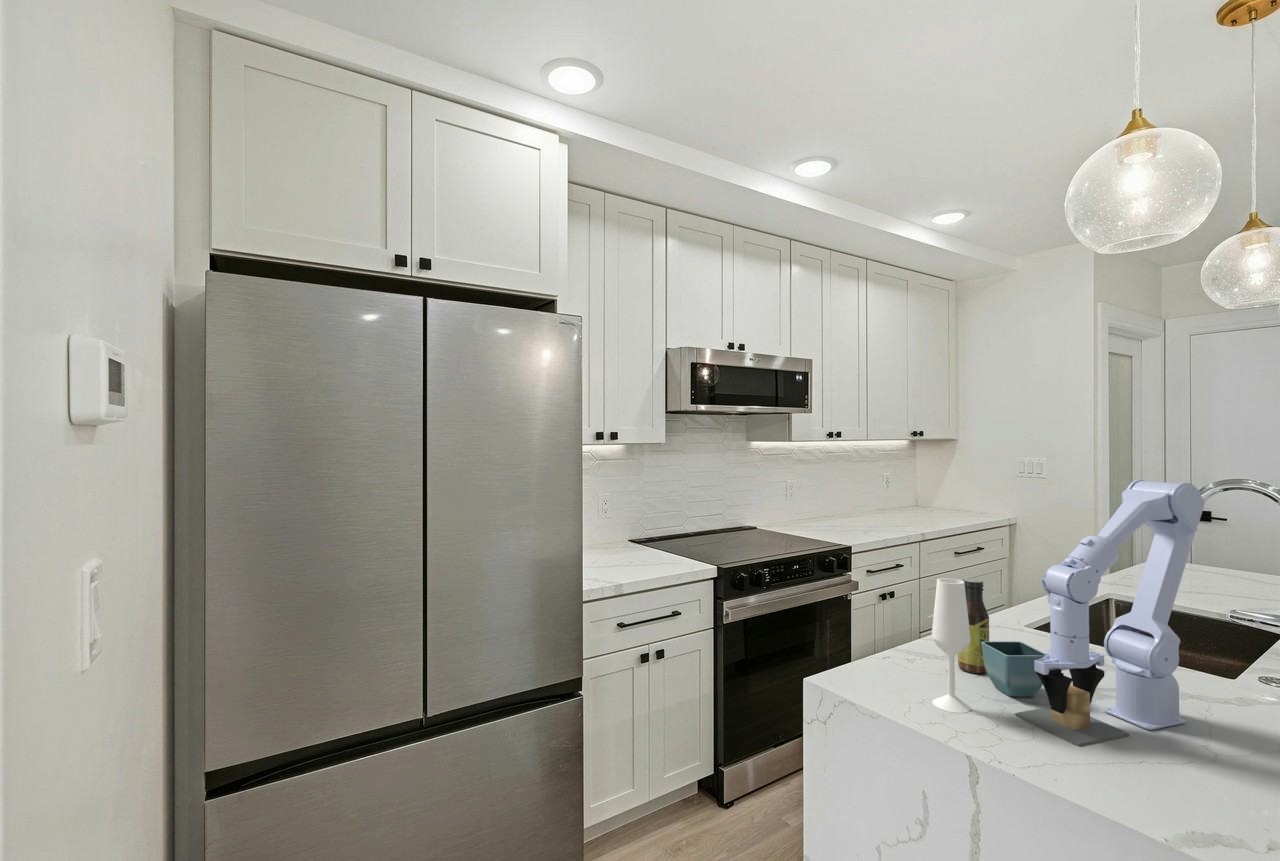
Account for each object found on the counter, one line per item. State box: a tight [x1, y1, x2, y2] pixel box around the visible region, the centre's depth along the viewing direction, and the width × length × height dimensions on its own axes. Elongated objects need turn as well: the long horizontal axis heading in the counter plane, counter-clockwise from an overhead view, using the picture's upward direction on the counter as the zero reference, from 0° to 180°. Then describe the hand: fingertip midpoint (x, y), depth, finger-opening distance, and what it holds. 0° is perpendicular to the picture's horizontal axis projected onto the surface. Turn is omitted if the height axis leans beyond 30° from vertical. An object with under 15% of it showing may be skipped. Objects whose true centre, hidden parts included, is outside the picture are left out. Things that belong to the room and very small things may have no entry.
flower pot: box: [981, 640, 1046, 697], centre depth 124 cm, size 9×9×9 cm
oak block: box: [1052, 684, 1091, 730], centre depth 110 cm, size 4×4×6 cm
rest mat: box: [1014, 706, 1130, 747], centre depth 110 cm, size 12×12×1 cm
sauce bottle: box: [957, 578, 990, 674], centre depth 136 cm, size 7×6×20 cm
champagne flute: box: [931, 577, 972, 714], centre depth 118 cm, size 7×7×24 cm
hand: (1070, 708), depth 110 cm, fingers open, 5 cm apart
